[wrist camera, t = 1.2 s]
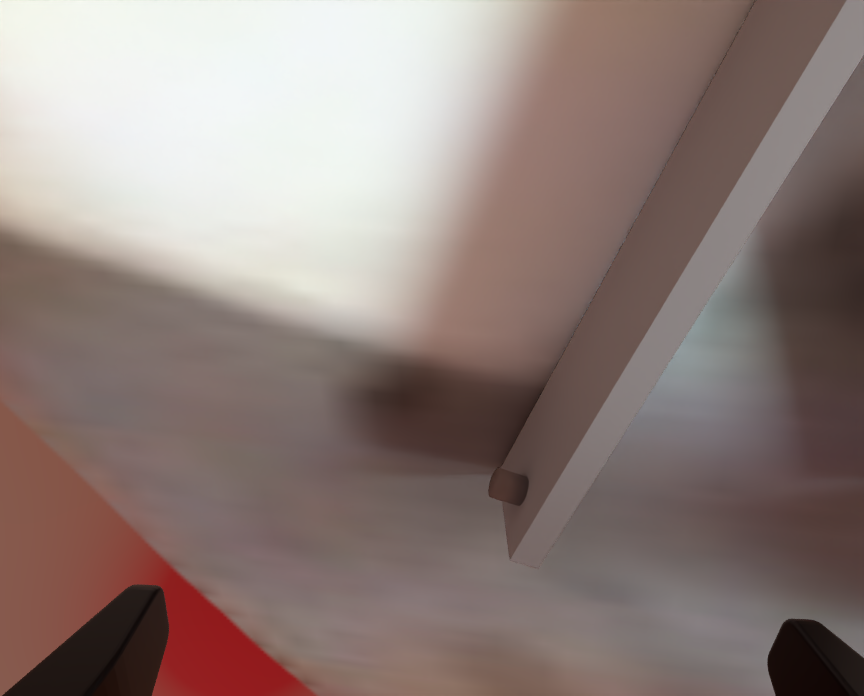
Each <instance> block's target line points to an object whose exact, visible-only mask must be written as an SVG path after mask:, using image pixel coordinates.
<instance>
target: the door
mask: <svg viewBox="0 0 864 696" xmlns="http://www.w3.org/2000/svg"><path fill="white" fill-rule="evenodd" d="M863 56H864V0H756V1H755V3H754V4H753V6H752V8H751V10H750V12H749V14H748V15H747V17H746V19H745V21H744V23H743V25H742V26H741V28H740V30H739V32H738V34H737V36H736V37H735V39H734V41H733V43H732V45H731V47H730V48H729V50H728V52H727V54H726V56H725V58H724V59H723V61H722V63H721V65H720V67H719V69H718V70H717V72H716V74H715V76H714V78H713V80H712V81H711V83H710V85H709V87H708V89H707V91H706V92H705V94H704V96H703V98H702V100H701V102H700V103H699V105H698V107H697V109H696V111H695V113H694V115H693V116H692V118H691V120H690V122H689V124H688V126H687V127H686V129H685V131H684V133H683V135H682V137H681V138H680V140H679V142H678V144H677V146H676V148H675V149H674V151H673V153H672V155H671V157H670V159H669V160H668V162H667V164H666V166H665V168H664V170H663V171H662V173H661V175H660V177H659V179H658V181H657V182H656V184H655V186H654V188H653V190H652V192H651V193H650V195H649V197H648V199H647V201H646V203H645V204H644V206H643V208H642V210H641V212H640V214H639V215H638V217H637V219H636V221H635V223H634V225H633V226H632V228H631V230H630V232H629V234H628V236H627V237H626V239H625V241H624V243H623V245H622V247H621V248H620V250H619V252H618V254H617V256H616V258H615V259H614V261H613V263H612V265H611V267H610V269H609V270H608V272H607V274H606V276H605V278H604V280H603V281H602V283H601V285H600V287H599V289H598V291H597V292H596V294H595V296H594V298H593V300H592V302H591V303H590V305H589V307H588V309H587V311H586V313H585V314H584V316H583V318H582V320H581V322H580V324H579V325H578V327H577V329H576V331H575V333H574V335H573V336H572V338H571V340H570V342H569V344H568V346H567V347H566V349H565V351H564V353H563V355H562V357H561V358H560V360H559V362H558V364H557V366H556V368H555V369H554V371H553V373H552V375H551V377H550V379H549V380H548V382H547V384H546V386H545V388H544V390H543V391H542V393H541V395H540V397H539V399H538V401H537V402H536V404H535V406H534V408H533V410H532V412H531V413H530V415H529V417H528V419H527V421H526V423H525V424H524V426H523V428H522V430H521V432H520V434H519V435H518V437H517V439H516V441H515V443H514V445H513V446H512V448H511V450H510V452H509V454H508V456H507V457H506V459H505V461H504V463H503V465H502V467H501V468H497V469H496V470H495V471H494V473H493V475H492V477H491V480H490V484H489V490H488V493H489V496H490V497H492V498H495V499H498V500H501V501H502V503H503V511H504V519H505V527H506V535H507V543H508V550H509V558H510V561H514V562H517V563H520V564H524V565H527V566H530V567H533V568H537V569H539V567H540V565H541V564H542V562H543V561H544V559H545V558H546V556H547V554H548V553H549V551H550V550H551V548H552V547H553V545H554V543H555V542H556V540H557V539H558V537H559V535H560V534H561V532H562V531H563V529H564V528H565V526H566V524H567V523H568V521H569V520H570V518H571V517H572V515H573V513H574V512H575V510H576V509H577V507H578V506H579V504H580V502H581V501H582V499H583V498H584V496H585V494H586V493H587V491H588V490H589V488H590V487H591V485H592V483H593V482H594V480H595V479H596V477H597V476H598V474H599V472H600V471H601V469H602V468H603V466H604V464H605V463H606V461H607V460H608V458H609V457H610V455H611V453H612V452H613V450H614V449H615V447H616V446H617V444H618V442H619V441H620V439H621V438H622V436H623V434H624V433H625V431H626V430H627V428H628V427H629V425H630V423H631V422H632V420H633V419H634V417H635V416H636V414H637V412H638V411H639V409H640V408H641V406H642V405H643V403H644V401H645V400H646V398H647V397H648V395H649V393H650V392H651V390H652V389H653V387H654V386H655V384H656V382H657V381H658V379H659V378H660V376H661V375H662V373H663V371H664V370H665V368H666V367H667V365H668V363H669V362H670V360H671V359H672V357H673V356H674V354H675V352H676V351H677V349H678V348H679V346H680V345H681V343H682V341H683V340H684V338H685V337H686V335H687V334H688V332H689V330H690V329H691V327H692V326H693V324H694V322H695V321H696V319H697V318H698V316H699V315H700V313H701V311H702V310H703V308H704V307H705V305H706V304H707V302H708V300H709V299H710V297H711V296H712V294H713V292H714V291H715V289H716V288H717V286H718V285H719V283H720V281H721V280H722V278H723V277H724V275H725V274H726V272H727V270H728V269H729V267H730V266H731V264H732V262H733V261H734V259H735V258H736V256H737V255H738V253H739V251H740V250H741V248H742V247H743V245H744V244H745V242H746V240H747V239H748V237H749V236H750V234H751V233H752V231H753V229H754V228H755V226H756V225H757V223H758V221H759V220H760V218H761V217H762V215H763V214H764V212H765V210H766V209H767V207H768V206H769V204H770V203H771V201H772V199H773V198H774V196H775V195H776V193H777V191H778V190H779V188H780V187H781V185H782V184H783V182H784V180H785V179H786V177H787V176H788V174H789V173H790V171H791V169H792V168H793V166H794V165H795V163H796V162H797V160H798V158H799V157H800V155H801V154H802V152H803V150H804V149H805V147H806V146H807V144H808V143H809V141H810V139H811V138H812V136H813V135H814V133H815V132H816V130H817V128H818V127H819V125H820V124H821V122H822V120H823V119H824V117H825V116H826V114H827V113H828V111H829V109H830V108H831V106H832V105H833V103H834V102H835V100H836V98H837V97H838V95H839V94H840V92H841V90H842V89H843V87H844V86H845V84H846V83H847V81H848V79H849V78H850V76H851V75H852V73H853V72H854V70H855V68H856V67H857V65H858V64H859V62H860V61H861V59H862V57H863Z"/></svg>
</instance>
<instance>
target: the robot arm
mask: <svg viewBox="0 0 864 696" xmlns="http://www.w3.org/2000/svg"><path fill="white" fill-rule="evenodd" d="M168 634H169V623H168V617H167V610H166V603H165V597H164V592H163V590H162V588H161V587H160V586H156V585H132V586H130V587H128V588H127V589H125V590H124V591H123V592H122V593H121V594H120V595H119V596H117V597H116V598H115V599H114V600H113V601H111V602H110V603H109V604H108V605H107V606H106V607H104V608H103V609H102V610H101V611H100V612H99V613H97V614H96V615H95V616H94V617H93V618H92V619H91V620H90V621H88V622H87V623H86V624H85V625H84V626H82V627H81V628H80V629H79V630H78V631H77V632H75V633H74V634H73V635H72V636H71V637H70V638H69V639H67V640H66V641H65V642H64V643H63V644H62V645H61V646H59V647H58V648H57V649H56V650H55V651H53V652H52V653H51V654H50V655H49V656H48V657H46V658H45V659H44V660H43V661H42V662H41V663H39V664H38V665H37V666H36V667H35V668H34V669H33V670H31V671H30V672H29V673H28V674H27V675H26V676H24V677H23V678H22V679H21V680H20V681H19V682H17V683H16V684H15V685H14V686H13V687H12V688H10V689H9V690H8V691H7V692H6V693H5V694H4V695H2V696H152V692H153V689H154V686H155V682H156V679H157V675H158V672H159V668H160V665H161V661H162V658H163V655H164V651H165V647H166V644H167V640H168ZM768 671H769V675H770V679H771V682H772V685H773V688H774V692H775V695H776V696H864V658H863V657H862V656H861V655H859V654H858V653H857V652H856V651H854V650H853V649H852V648H851V647H849V646H848V645H847V644H846V643H844V642H843V641H842V640H841V639H840V638H838V637H837V636H836V635H835V634H833V633H832V632H831V631H830V630H828V629H827V628H826V627H825V626H823V625H822V624H821V623H819V622H817V621H815V620H809V619H788V620H786V621H785V622H784V623H783V624H782V626H781V628H780V631H779V633H778V635H777V637H776V639H775V641H774V643H773V646H772V648H771V650H770V652H769V655H768Z"/></svg>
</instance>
